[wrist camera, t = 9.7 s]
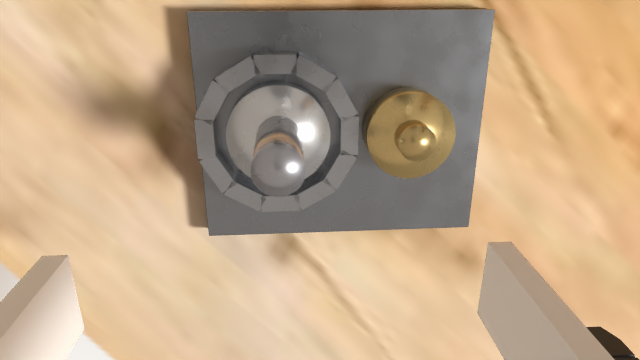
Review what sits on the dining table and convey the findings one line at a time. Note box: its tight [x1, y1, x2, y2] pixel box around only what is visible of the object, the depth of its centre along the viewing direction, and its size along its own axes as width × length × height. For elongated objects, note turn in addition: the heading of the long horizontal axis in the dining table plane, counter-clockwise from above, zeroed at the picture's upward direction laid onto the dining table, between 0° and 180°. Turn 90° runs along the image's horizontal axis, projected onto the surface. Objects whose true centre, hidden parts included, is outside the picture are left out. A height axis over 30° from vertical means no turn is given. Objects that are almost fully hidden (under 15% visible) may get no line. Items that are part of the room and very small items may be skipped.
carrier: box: [187, 9, 495, 236], centre depth 33 cm, size 16×20×5 cm
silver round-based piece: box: [226, 81, 330, 197], centre depth 30 cm, size 7×7×8 cm
